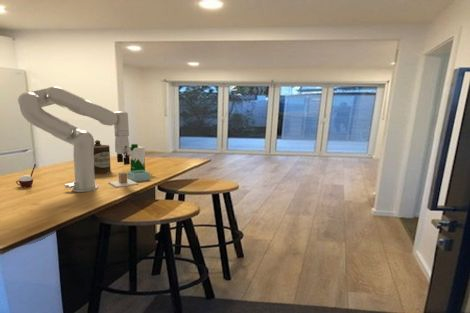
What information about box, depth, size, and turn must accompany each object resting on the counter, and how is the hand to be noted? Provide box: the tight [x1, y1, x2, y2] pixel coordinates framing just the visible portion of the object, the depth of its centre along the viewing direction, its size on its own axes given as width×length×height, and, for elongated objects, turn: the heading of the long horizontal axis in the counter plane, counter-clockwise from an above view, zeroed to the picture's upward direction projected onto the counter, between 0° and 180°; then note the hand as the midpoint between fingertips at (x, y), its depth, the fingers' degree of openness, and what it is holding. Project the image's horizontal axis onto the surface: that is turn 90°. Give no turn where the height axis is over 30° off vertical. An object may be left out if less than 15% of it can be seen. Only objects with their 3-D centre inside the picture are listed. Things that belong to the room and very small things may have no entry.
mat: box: [107, 182, 139, 189], centre depth 173 cm, size 13×13×1 cm
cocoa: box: [15, 164, 37, 188], centre depth 163 cm, size 10×6×12 cm, turn 93°
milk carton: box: [129, 143, 146, 171], centre depth 203 cm, size 9×9×20 cm
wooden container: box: [94, 139, 112, 175], centre depth 203 cm, size 15×15×22 cm
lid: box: [108, 172, 138, 188], centre depth 173 cm, size 12×12×6 cm
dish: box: [126, 169, 151, 183], centre depth 185 cm, size 10×10×5 cm
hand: (123, 163), depth 172 cm, fingers open, 9 cm apart
